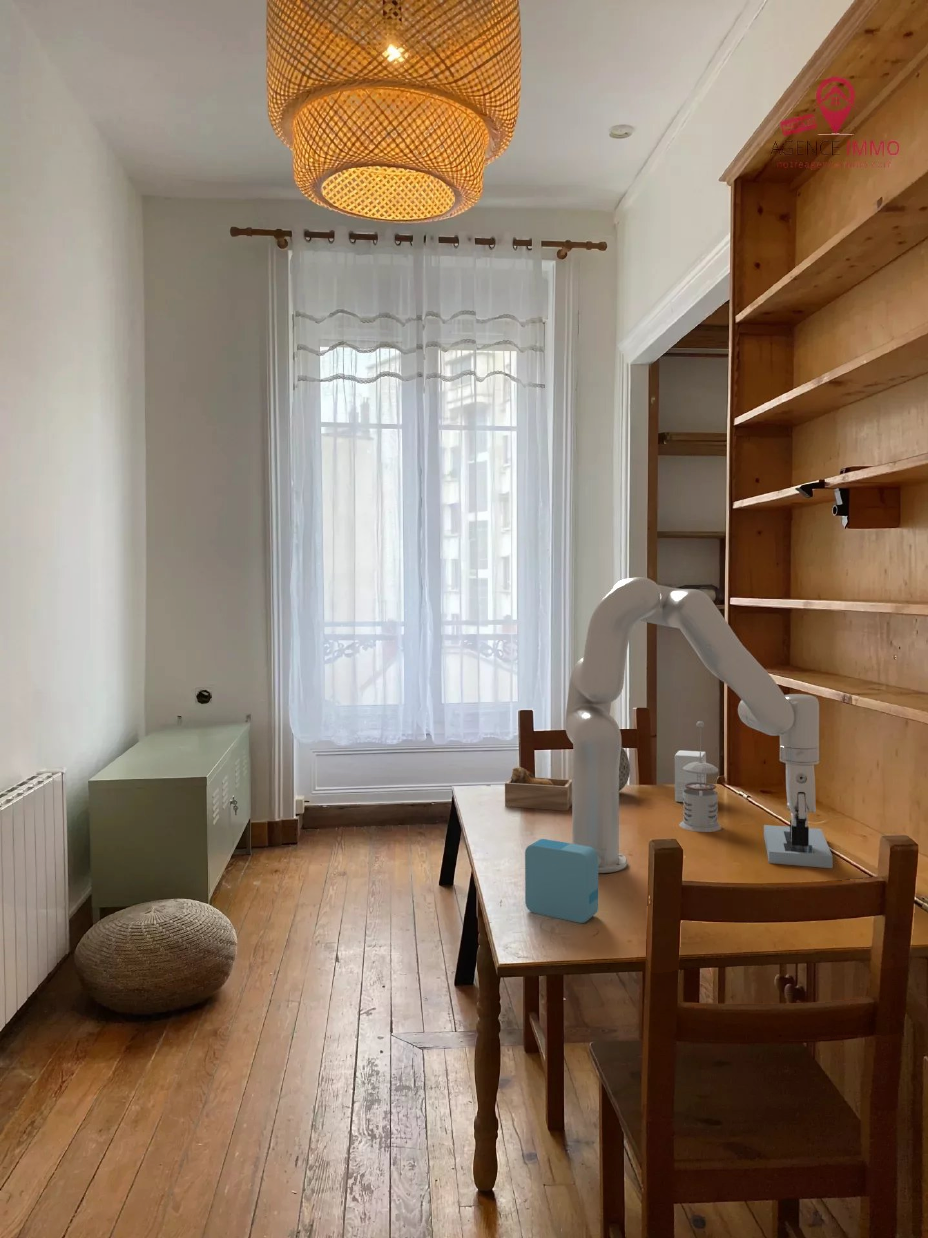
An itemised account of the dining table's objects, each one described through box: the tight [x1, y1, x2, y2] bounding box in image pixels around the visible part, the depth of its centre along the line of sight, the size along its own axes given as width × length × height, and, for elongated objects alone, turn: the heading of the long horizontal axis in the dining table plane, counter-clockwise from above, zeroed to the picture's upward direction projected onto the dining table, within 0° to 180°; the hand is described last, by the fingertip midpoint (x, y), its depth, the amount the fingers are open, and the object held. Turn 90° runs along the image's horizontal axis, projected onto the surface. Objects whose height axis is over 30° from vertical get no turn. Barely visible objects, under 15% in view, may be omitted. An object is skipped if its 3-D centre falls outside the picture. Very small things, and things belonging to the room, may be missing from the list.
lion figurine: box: [510, 766, 553, 786], centre depth 219 cm, size 15×5×9 cm, turn 62°
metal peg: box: [786, 801, 810, 853], centre depth 172 cm, size 5×5×10 cm
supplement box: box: [674, 749, 707, 803], centre depth 222 cm, size 7×7×13 cm
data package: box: [524, 838, 599, 924], centre depth 144 cm, size 12×4×12 cm, turn 58°
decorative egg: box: [619, 745, 631, 792], centre depth 229 cm, size 12×12×15 cm
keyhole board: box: [763, 824, 834, 869], centre depth 178 cm, size 20×12×2 cm, turn 163°
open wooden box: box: [504, 776, 572, 811], centre depth 219 cm, size 9×16×6 cm, turn 73°
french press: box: [678, 720, 723, 833], centre depth 198 cm, size 10×12×25 cm
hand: (799, 841), depth 172 cm, fingers closed on metal peg, 3 cm apart
